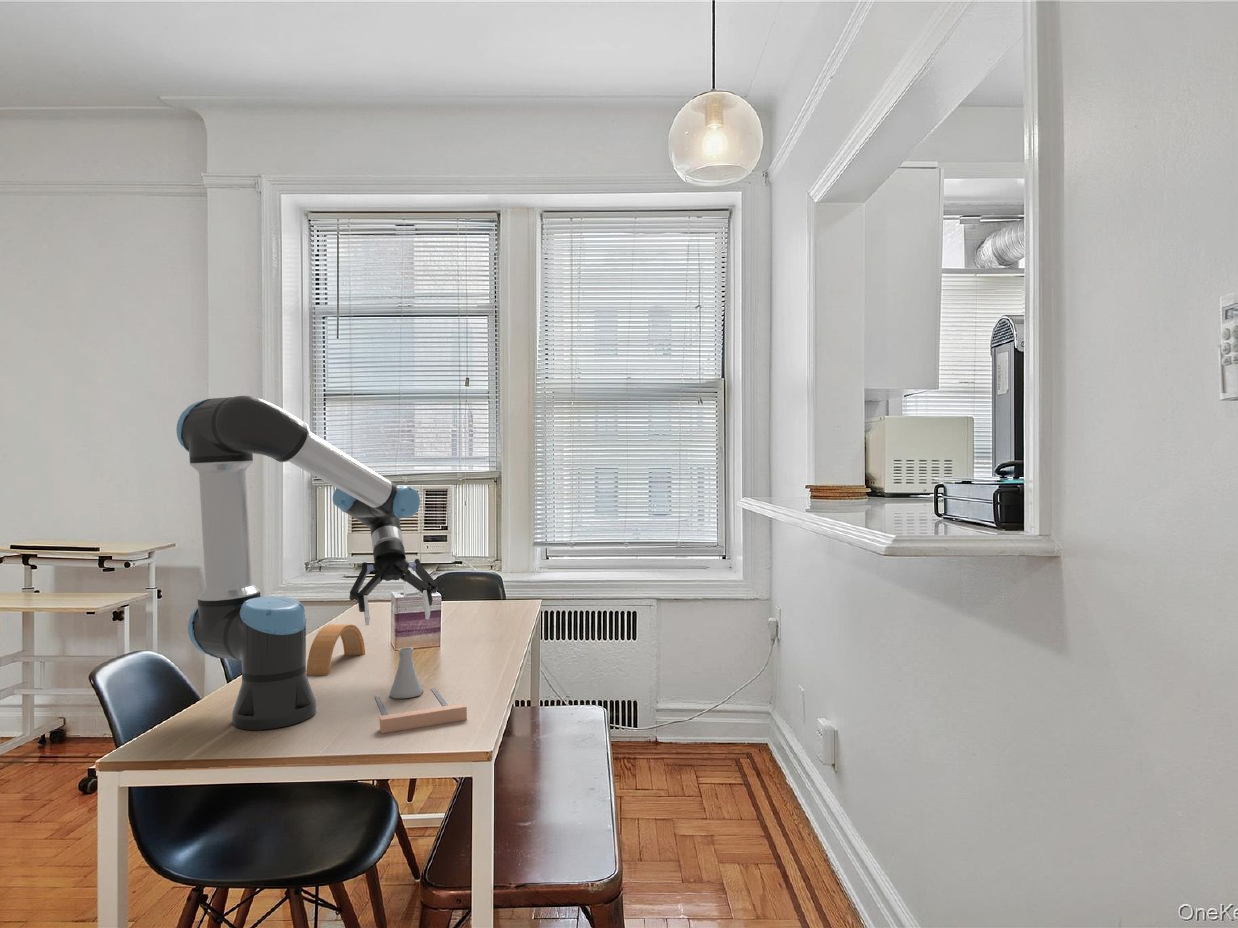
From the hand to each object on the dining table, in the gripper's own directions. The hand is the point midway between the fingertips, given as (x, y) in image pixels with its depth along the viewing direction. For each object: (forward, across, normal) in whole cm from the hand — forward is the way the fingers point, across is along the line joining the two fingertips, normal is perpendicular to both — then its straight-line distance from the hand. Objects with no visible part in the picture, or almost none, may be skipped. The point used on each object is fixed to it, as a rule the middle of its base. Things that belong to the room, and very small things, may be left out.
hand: (398, 618), depth 170 cm
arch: (-7, +12, -28) cm, 32 cm away
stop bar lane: (+25, 0, +4) cm, 25 cm away
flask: (+18, 0, -3) cm, 18 cm away
